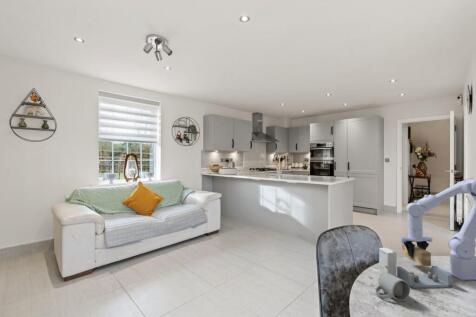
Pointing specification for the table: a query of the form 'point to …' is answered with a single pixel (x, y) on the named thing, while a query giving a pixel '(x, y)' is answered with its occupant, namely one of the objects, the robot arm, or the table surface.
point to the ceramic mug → (393, 287)
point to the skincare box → (387, 261)
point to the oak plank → (418, 255)
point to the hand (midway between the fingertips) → (415, 256)
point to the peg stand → (426, 278)
